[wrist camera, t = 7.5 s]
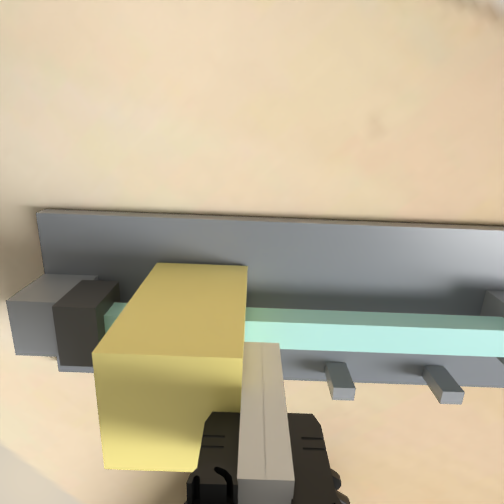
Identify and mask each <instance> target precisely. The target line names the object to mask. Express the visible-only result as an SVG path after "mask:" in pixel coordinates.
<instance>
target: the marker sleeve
mask: <svg viewBox="0 0 504 504" xmlns="http://www.w3.org/2000/svg"><path fill="white" fill-rule="evenodd" d="M247 271H248V266H237V265H210V264H184V263H156V265H155V266H154V267H153V269H152V270H151V272H150V273H149V274H148V276H147V277H146V279H145V280H144V281H143V283H142V284H141V285H140V287H139V288H138V290H137V291H136V292H135V294H134V295H133V297H132V298H131V299H130V301H129V302H128V303H127V305H126V306H125V308H124V309H123V310H122V312H121V313H120V314H119V316H118V317H117V319H116V320H115V321H114V323H113V324H112V326H111V327H110V328H109V330H108V331H107V332H106V334H105V335H104V337H103V338H102V339H101V341H100V342H99V344H98V345H97V346H96V348H95V349H94V350H93V352H92V360H93V369H94V378H95V387H96V397H97V406H98V415H99V424H100V433H101V442H102V451H103V460H104V469H117V470H145V471H174V472H193V471H194V470H195V469H196V468H197V465H198V459H199V453H200V448H201V441H202V436H203V429H204V423H205V421H206V420H207V418H208V417H209V416H210V414H211V413H212V412H239V413H240V410H241V390H242V371H243V352H244V342H245V314H246V299H247Z"/></svg>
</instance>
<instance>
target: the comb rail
mask: <svg viewBox="0 0 504 504" xmlns="http://www.w3.org/2000/svg"><path fill="white" fill-rule="evenodd" d="M36 217H37V224H38V231H39V238H40V245H41V252H42V258H43V265H44V272H45V274H43V275H42V276H41V277H39V278H38V279H36V280H35V281H33V282H32V283H31V284H29V285H28V286H26V287H25V288H23V289H22V290H21V291H19V292H18V293H16V294H15V295H13V296H12V297H10V298H9V299H8V300H6V304H7V309H8V315H9V320H10V326H11V331H12V337H13V342H14V347H15V353H16V355H29V356H56V357H57V362H58V369H59V372H86V373H94V369H93V360H92V352H93V350H94V349H95V348H96V346H97V345H98V344H99V342H100V341H101V339H102V338H103V337H104V335H105V334H106V332H107V331H108V330H109V328H110V327H111V326H112V324H113V323H114V321H115V320H116V319H117V317H118V316H119V314H120V313H121V312H122V310H123V309H124V308H125V306H126V305H127V303H128V302H129V301H130V299H131V298H132V297H133V295H134V294H135V292H136V291H137V290H138V288H139V287H140V285H141V284H142V283H143V281H144V280H145V279H146V277H147V276H148V274H149V273H150V272H151V270H152V269H153V267H154V266H155V265H156V263H184V264H210V265H237V266H248V271H247V299H246V314H245V342H267V343H279V346H280V355H281V364H282V373H283V380H305V381H327V383H328V387H329V390H330V394H331V397H332V400H354V396H355V389H356V388H355V386H354V383H353V382H360V383H387V384H414V385H428V386H429V388H430V389H431V391H432V392H433V394H434V395H435V397H436V398H437V400H438V401H439V403H440V404H462V401H463V397H464V393H465V392H464V391H463V390H462V388H461V387H460V386H469V387H496V388H504V226H479V225H452V224H426V223H400V222H374V221H348V220H322V219H295V218H269V217H243V216H217V215H191V214H165V213H138V212H112V211H86V210H60V209H44V210H42V211H39V212H37V213H36Z"/></svg>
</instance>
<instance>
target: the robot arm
mask: <svg viewBox="0 0 504 504" xmlns="http://www.w3.org/2000/svg"><path fill="white" fill-rule="evenodd" d="M184 504H342V503H341V501H340V500H339V498H338V497H337V494H336V491H335V487H334V483H333V478H332V474H331V469H330V465H329V460H328V456H327V451H326V447H325V442H324V438H323V433H322V429H321V425H320V424H319V422H318V421H317V419H316V418H315V417H314V415H313V414H299V413H287V408H286V399H285V390H284V382H283V373H282V364H281V355H280V346H279V343H267V342H244V352H243V371H242V390H241V410H240V413H239V412H212V413H211V414H210V416H209V417H208V418H207V420H206V421H205V423H204V429H203V436H202V441H201V448H200V453H199V459H198V465H197V468H196V469H195V470H194V471H193V472H192V473H191V474H190V476H189V479H188V481H187V501H186V502H185V503H184Z"/></svg>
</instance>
